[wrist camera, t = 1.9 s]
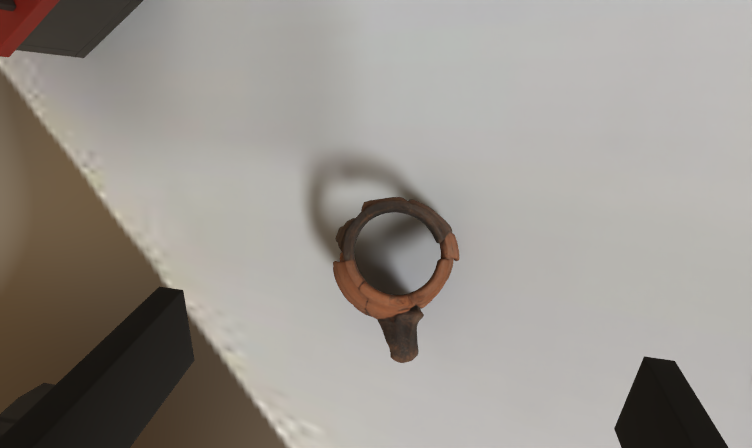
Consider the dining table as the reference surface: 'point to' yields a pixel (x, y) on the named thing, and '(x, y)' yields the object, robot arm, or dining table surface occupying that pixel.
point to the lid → (20, 21)
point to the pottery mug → (390, 310)
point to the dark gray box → (77, 26)
